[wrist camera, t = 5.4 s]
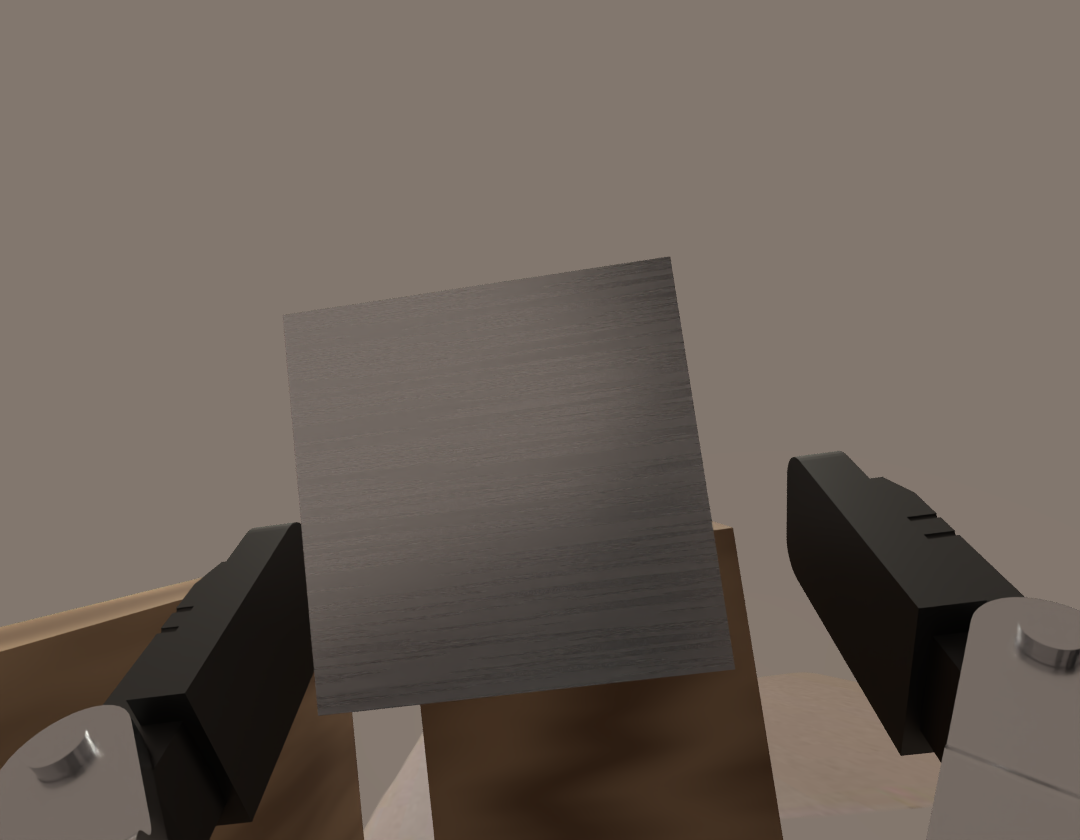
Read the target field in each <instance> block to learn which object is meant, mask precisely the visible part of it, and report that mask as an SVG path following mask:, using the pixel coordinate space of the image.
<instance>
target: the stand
mask: <svg viewBox="0 0 1080 840" xmlns="http://www.w3.org/2000/svg"><path fill="white" fill-rule="evenodd" d="M712 525H713V532H714V538H715V544H716V551H717V557H718V563H719V570H720V576H721V582H722V589H723V595H724V601H725V608H726V614H727V620H728V627H729V633H730V639H731V646H732V652H733V658H734V665H735V669H734V670H725V671H716V672H707V673H698V674H689V675H680V676H671V677H662V678H653V679H645V680H636V681H627V682H618V683H609V684H600V685H591V686H582V687H573V688H564V689H555V690H546V691H537V692H528V693H519V694H510V695H501V696H492V697H483V698H474V699H466V700H457V701H448V702H439V703H430V704H421V705H420V706H421V716H422V724H423V735H424V744H425V753H426V763H427V772H428V782H429V791H430V801H431V810H432V820H433V829H434V839H435V840H783V836H782V830H781V824H780V817H779V811H778V805H777V798H776V792H775V786H774V780H773V774H772V767H771V761H770V755H769V749H768V743H767V736H766V730H765V724H764V718H763V712H762V705H761V699H760V693H759V687H758V681H757V675H756V668H755V662H754V656H753V650H752V644H751V637H750V631H749V625H748V619H747V612H746V607H745V600H744V594H743V588H742V582H741V576H740V569H739V563H738V557H737V551H736V544H735V538H734V532H733V528H732V527H728V526H726V525H722V524H719V523H716V522H713V521H712ZM202 578H203V577H202ZM200 579H201V578H199V579H194V580H190V581H186V582H182V583H178V584H174V585H170V586H166V587H162V588H158V589H154V590H150V591H145V592H142V593H137V594H133V595H129V596H125V597H121V598H117V599H113V600H109V601H105V602H101V603H97V604H93V605H89V606H85V607H81V608H76V609H73V610H68V611H65V612H60V613H56V614H53V615H48V616H44V617H40V618H36V619H32V620H28V621H24V622H19V623H16V624H12V625H8V626H4V627H0V770H1V768H2V767H3V766H4V765H5V763H6V762H7V761H8V760H9V758H10V757H11V756H12V755H13V754H14V753H15V752H16V751H17V750H18V749H19V748H20V747H22V746H23V745H24V744H25V743H26V742H27V741H28V740H30V739H31V738H32V737H34V736H35V735H36V734H38V733H39V732H41V731H42V730H44V729H45V728H47V727H48V726H50V725H51V724H53V723H55V722H57V721H59V720H60V719H62V718H64V717H66V716H69V715H71V714H73V713H75V712H78V711H81V710H84V709H87V708H91V707H94V706H101V705H103V704H104V703H105V701H106V700H107V699H108V697H109V696H110V695H111V693H112V692H113V691H114V689H115V688H116V687H117V685H118V684H119V683H120V682H121V680H122V679H123V678H124V676H125V675H126V674H127V672H128V671H129V670H130V668H131V667H132V666H133V664H134V663H135V662H136V660H137V659H138V658H139V656H140V655H141V654H142V653H143V651H144V650H145V649H146V647H147V646H148V645H149V643H150V642H151V641H152V639H153V638H154V637H155V635H156V634H158V633H161V627H162V626H163V625H164V623H165V622H166V621H167V620H168V618H169V617H170V616H171V614H172V613H176V611H177V610H176V608H177V606H178V605H179V604H180V602H181V601H182V600H183V598H184V597H185V596H186V594H187V593H188V592H189V591H190V589H191V588H192V587H193V585H194V584H195V583H196V582H198V581H199V580H200ZM210 840H364V834H363V825H362V814H361V803H360V792H359V781H358V771H357V760H356V749H355V739H354V728H353V717H352V712H349V713H340V714H331V715H322V716H318V709H317V697H316V686H315V675H314V673H313V675H312V678H311V680H310V683H309V685H308V688H307V690H306V692H305V695H304V697H303V700H302V702H301V705H300V707H299V709H298V712H297V714H296V717H295V719H294V722H293V724H292V726H291V729H290V731H289V734H288V736H287V738H286V741H285V743H284V746H283V748H282V751H281V753H280V755H279V758H278V760H277V763H276V765H275V768H274V770H273V772H272V775H271V777H270V780H269V782H268V785H267V787H266V789H265V792H264V794H263V797H262V799H261V802H260V804H259V806H258V809H257V811H256V814H255V816H254V818H253V821H252V822H248V823H239V824H229V825H220V826H216V827H215V829H214V831H213V833H212V835H211V837H210Z"/></svg>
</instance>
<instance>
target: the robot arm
mask: <svg viewBox="0 0 1080 840" xmlns="http://www.w3.org/2000/svg"><path fill="white" fill-rule="evenodd" d="M787 548H788V554H789V558H790V562H791V566H792V569H793V571H794V574H795V576H796V577H797V580H798V581H799V583H800V585H801V586H802V588H803V590H804V592H805V593H806V595H807V597H808V598H809V600H810V602H811V603H812V605H813V607H814V609H815V610H816V612H817V614H818V615H819V617H820V619H821V621H822V622H823V624H824V626H825V627H826V629H827V631H828V632H829V634H830V636H831V638H832V639H833V641H834V643H835V644H836V646H837V648H838V650H839V651H840V653H841V655H842V656H843V658H844V660H845V661H846V663H847V665H848V667H849V668H850V670H851V672H852V673H853V675H854V677H855V678H856V680H857V682H858V684H859V685H860V687H861V689H862V690H863V692H864V694H865V696H866V697H867V699H868V701H869V702H870V704H871V706H872V707H873V709H874V711H875V713H876V714H877V716H878V718H879V719H880V721H881V723H882V724H883V726H884V728H885V730H886V731H887V733H888V735H889V736H890V738H891V740H892V742H893V743H894V745H895V747H896V748H897V750H898V752H899V753H900V755H901V756H904V755H913V754H922V753H932V752H935V754H936V756H937V757H938V759H939V760H940V762H941V767H940V772H939V777H938V782H937V787H936V792H935V798H934V803H933V808H932V813H931V818H930V823H929V828H928V833H927V839H926V840H1080V611H1079V610H1077V609H1074V608H1072V607H1069V606H1066V605H1063V604H1059V603H1055V602H1052V601H1047V600H1042V599H1036V598H1027V597H1024V596H1023V595H1022V594H1021V593H1020V592H1019V591H1018V590H1017V589H1016V588H1015V587H1014V586H1013V585H1012V584H1011V583H1009V582H1008V581H1007V580H1006V579H1005V578H1004V577H1003V576H1002V575H1001V574H1000V573H999V572H998V571H997V570H996V569H995V568H994V567H993V566H992V565H990V564H989V563H988V562H987V561H986V560H985V559H984V558H983V557H982V556H981V555H980V554H979V553H978V552H977V551H976V550H975V549H973V548H972V547H971V546H970V545H969V544H968V543H967V542H966V541H965V540H964V539H963V538H962V537H961V536H960V535H957V536H956V535H955V530H953V529H952V528H951V527H950V526H949V525H948V524H947V523H946V522H945V521H944V520H943V519H942V518H937V516H936V512H935V511H933V510H932V509H931V508H930V507H929V506H928V505H927V504H926V503H925V502H924V501H923V500H922V499H921V498H920V497H919V496H918V495H917V494H915V493H914V492H912V491H910V490H908V489H906V488H904V487H902V486H900V485H898V484H896V483H894V482H891V481H890V480H887V479H885V478H883V477H880V478H871V479H869V478H868V476H866V474H865V473H864V472H863V471H862V470H861V469H860V468H859V467H858V466H857V465H856V464H855V463H854V462H853V461H852V460H851V459H850V458H849V457H848V456H847V455H846V454H845V453H844V452H842V451H837V452H828V453H821V454H814V455H806V456H799V457H793V458H791V459H790V461H789V464H788V470H787ZM176 610H177V611H176V613H172V614H171V616H170V617H169V618H168V620H167V621H166V622H165V623H164V625H163V626H162V627H161V633H158V634H156V635H155V637H154V638H153V639H152V641H151V642H150V643H149V645H148V646H147V647H146V649H145V650H144V651H143V653H142V654H141V655H140V656H139V658H138V659H137V660H136V662H135V663H134V664H133V666H132V667H131V668H130V670H129V671H128V672H127V674H126V675H125V676H124V678H123V679H122V680H121V682H120V683H119V684H118V685H117V687H116V688H115V689H114V691H113V692H112V693H111V695H110V696H109V697H108V699H107V700H106V701H105V703H104V704H103V705H101V706H94V707H91V708H87V709H84V710H81V711H78V712H75V713H73V714H71V715H69V716H66V717H64V718H62V719H60V720H59V721H57V722H55V723H53V724H51V725H50V726H48V727H47V728H45V729H44V730H42V731H41V732H39V733H38V734H36V735H35V736H34V737H32V738H31V739H30V740H28V741H27V742H26V743H25V744H24V745H23V746H22V747H20V748H19V749H18V750H17V751H16V752H15V753H14V754H13V755H12V756H11V757H10V758H9V760H8V761H7V762H6V763H5V765H4V766H3V767H2V768H1V770H0V840H210V837H211V835H212V833H213V831H214V829H215V827H216V826H220V825H229V824H239V823H248V822H252V821H253V818H254V816H255V814H256V811H257V809H258V806H259V804H260V802H261V799H262V797H263V794H264V792H265V789H266V787H267V785H268V782H269V780H270V777H271V775H272V772H273V770H274V768H275V765H276V763H277V760H278V758H279V755H280V753H281V751H282V748H283V746H284V743H285V741H286V738H287V736H288V734H289V731H290V729H291V726H292V724H293V722H294V719H295V717H296V714H297V712H298V709H299V707H300V705H301V702H302V700H303V697H304V695H305V692H306V690H307V688H308V685H309V683H310V680H311V678H312V675H313V673H314V663H313V652H312V641H311V630H310V618H309V607H308V596H307V584H306V573H305V562H304V550H303V539H302V528H301V524H300V523H297V522H296V523H287V524H280V525H273V526H265V527H258V528H253V529H251V530H249V531H248V533H247V534H246V535H245V536H244V538H243V539H242V540H241V542H240V543H239V545H238V546H237V547H236V549H235V550H234V552H233V553H232V554H231V556H230V557H229V558H228V560H227V561H226V562H222V563H220V564H219V565H218V566H217V567H215V568H214V569H213V570H211V571H210V572H209V573H208V574H207V575H205V576H204V577H203V578H201V579H200V580H199V581H198V582H196V583H195V584H194V585H193V587H192V588H191V589H190V591H189V592H188V593H187V594H186V596H185V597H184V598H183V600H182V601H181V602H180V604H179V605H178V606H177V608H176Z"/></svg>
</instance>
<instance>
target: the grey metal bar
mask: <svg viewBox="0 0 1080 840" xmlns="http://www.w3.org/2000/svg"><path fill="white" fill-rule="evenodd" d="M283 323H284V336H285V347H286V358H287V369H288V381H289V392H290V403H291V415H292V426H293V437H294V448H295V460H296V470H297V482H298V492H299V493H298V494H299V505H300V515H301V516H300V517H301V528H302V539H303V550H304V562H305V573H306V584H307V596H308V607H309V618H310V630H311V641H312V652H313V663H314V675H315V686H316V697H317V709H318V716H322V715H331V714H340V713H349V712H358V711H367V710H376V709H385V708H393V707H402V706H412V705H421V704H430V703H439V702H448V701H457V700H466V699H474V698H483V697H492V696H501V695H510V694H519V693H528V692H537V691H546V690H555V689H564V688H573V687H582V686H591V685H600V684H609V683H618V682H627V681H636V680H645V679H653V678H662V677H671V676H680V675H689V674H698V673H707V672H716V671H725V670H734V669H735V665H734V658H733V652H732V646H731V639H730V633H729V627H728V620H727V614H726V608H725V601H724V595H723V589H722V582H721V576H720V570H719V563H718V557H717V551H716V544H715V538H714V532H713V525H712V519H711V513H710V506H709V500H708V494H707V488H706V481H705V475H704V468H703V462H702V456H701V450H700V443H699V437H698V431H697V424H696V418H695V411H694V405H693V399H692V392H691V386H690V379H689V374H688V367H687V360H686V355H685V348H684V341H683V335H682V329H681V322H680V316H679V310H678V303H677V297H676V291H675V284H674V278H673V272H672V265H671V259H670V257H664V258H657V259H651V260H645V261H637V262H630V263H624V264H617V265H611V266H604V267H597V268H591V269H584V270H578V271H571V272H564V273H559V274H551V275H545V276H538V277H531V278H525V279H519V280H512V281H505V282H498V283H492V284H485V285H478V286H472V287H465V288H459V289H452V290H445V291H439V292H432V293H426V294H419V295H413V296H406V297H399V298H393V299H386V300H379V301H373V302H367V303H360V304H353V305H346V306H340V307H334V308H327V309H320V310H314V311H307V312H300V313H294V314H288V315H283Z"/></svg>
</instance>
